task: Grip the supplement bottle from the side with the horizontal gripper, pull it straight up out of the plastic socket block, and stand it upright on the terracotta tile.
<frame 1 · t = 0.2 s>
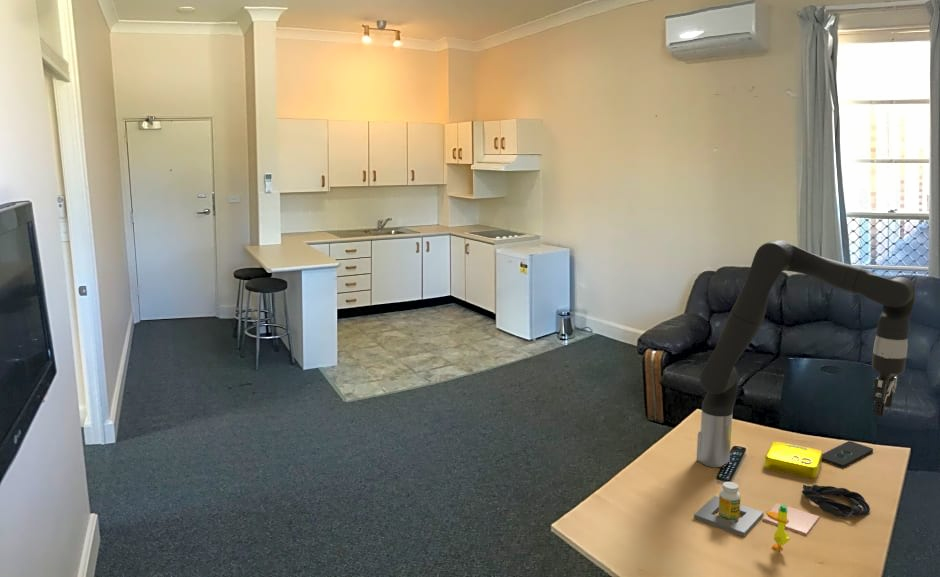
hand: (882, 410, 180), 29 cm above the table, tool pointing down, fingers open, 8 cm apart
toy figure: (776, 548, 168), on the table
terracotta tile: (790, 519, 181), on the table
supplement bottle: (728, 518, 183), resting in socket block
cable: (833, 504, 190), on the table
element tile: (792, 466, 213), on the table
smart home device: (845, 457, 219), on the table
socket block: (728, 517, 183), on the table
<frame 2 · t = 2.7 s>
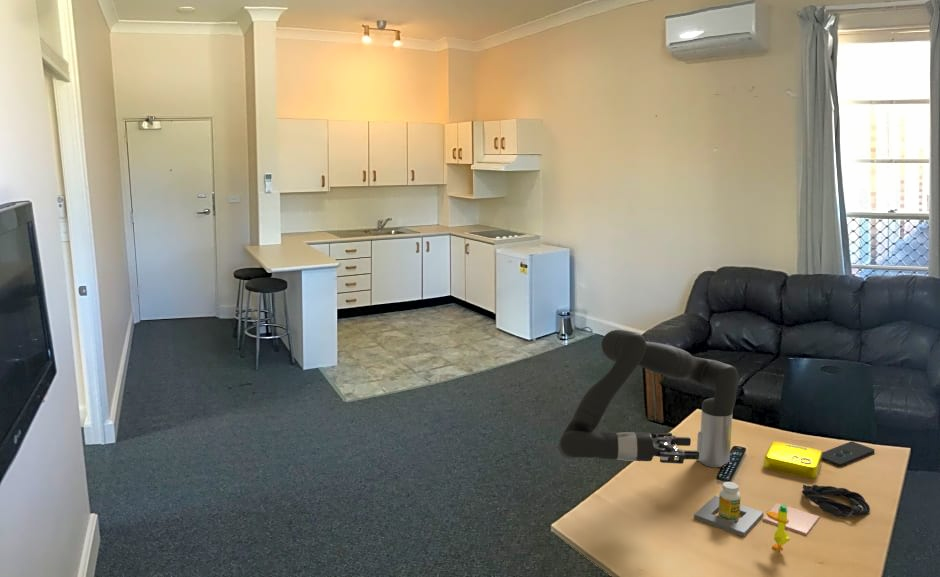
hand: (694, 448, 179), 20 cm above the table, tool horizontal, fingers open, 8 cm apart
nothing on the table moved.
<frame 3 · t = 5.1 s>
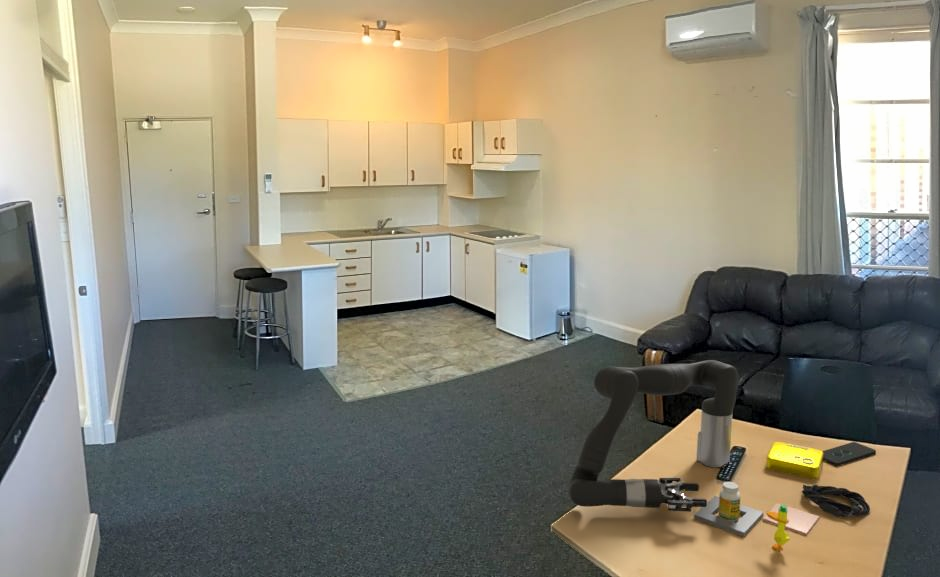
hand: (702, 494, 182), 6 cm above the table, tool horizontal, fingers open, 8 cm apart
nothing on the table moved.
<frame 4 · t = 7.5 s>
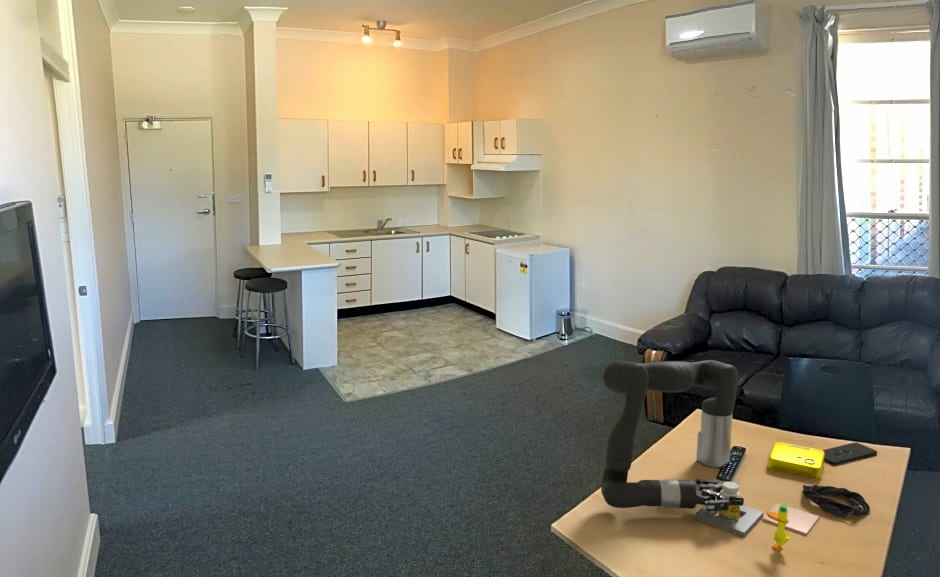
hand: (739, 495, 181), 7 cm above the table, tool horizontal, fingers closed on supplement bottle, 5 cm apart
supplement bottle: (728, 517, 183), resting in socket block, touching gripper
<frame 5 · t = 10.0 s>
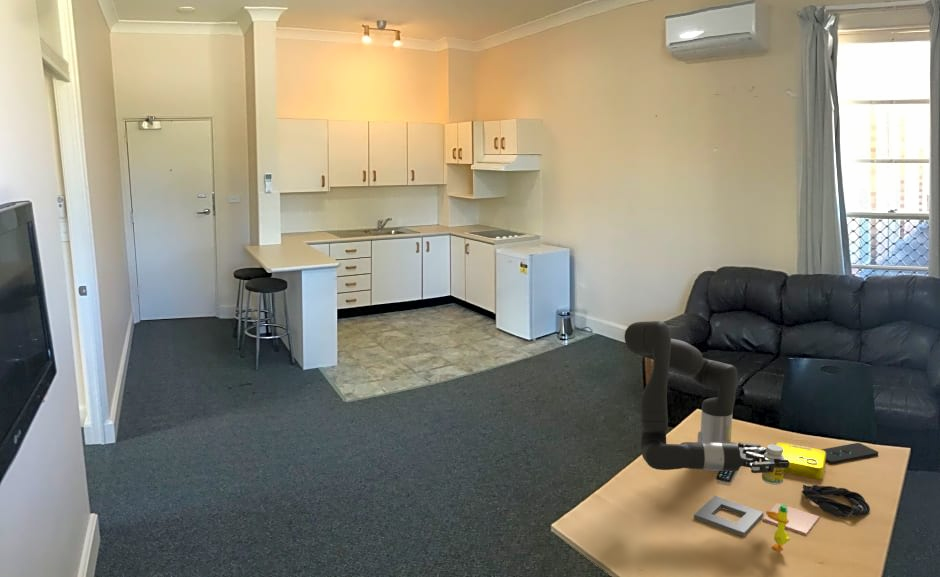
hand: (784, 458, 178), 18 cm above the table, tool horizontal, fingers closed on supplement bottle, 5 cm apart
supplement bottle: (772, 481, 180), point 11 cm above the table, touching gripper
when the fingers open (8 cm above the table, at t = 12.7 s): supplement bottle drops 1 cm, resting on terracotta tile.
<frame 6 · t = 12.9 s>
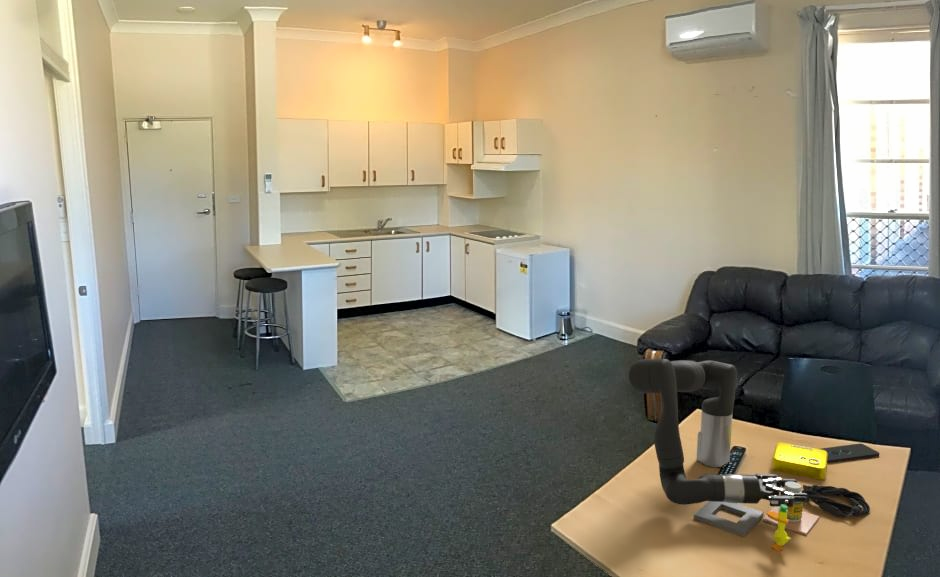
hand: (801, 490, 179), 9 cm above the table, tool horizontal, fingers open, 7 cm apart
supplement bottle: (790, 518, 181), resting on terracotta tile
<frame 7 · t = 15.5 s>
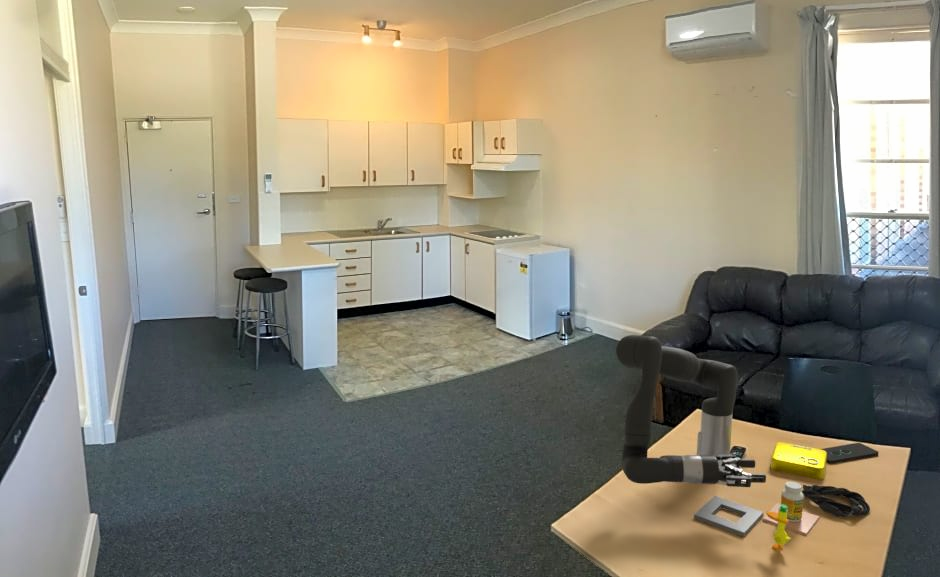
hand: (760, 470, 179), 14 cm above the table, tool horizontal, fingers open, 8 cm apart
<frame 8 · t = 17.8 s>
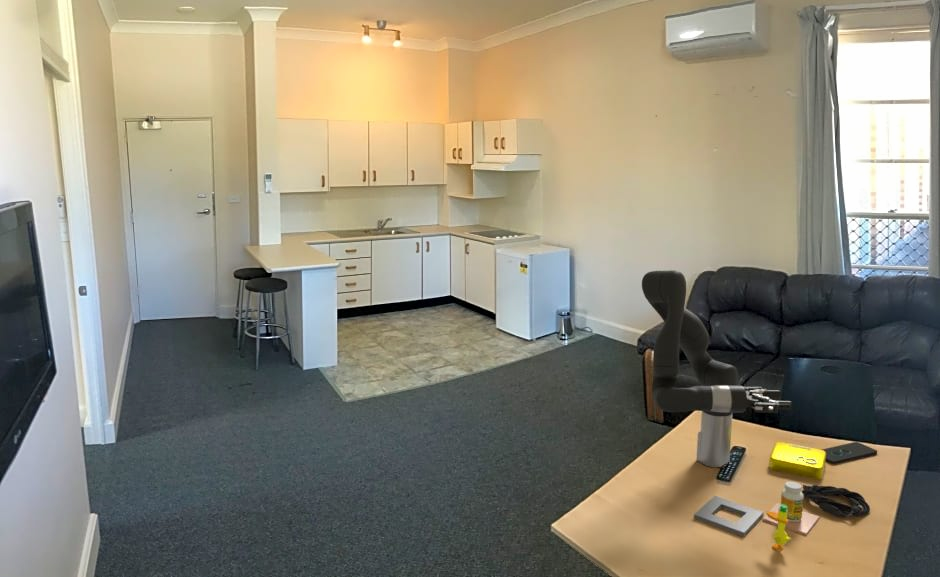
hand: (785, 399, 186), 30 cm above the table, tool horizontal, fingers open, 8 cm apart
at the end: supplement bottle inside the target area on the terracotta tile (0.2 cm from its centre), point 0.4 cm above the terracotta tile's base; supplement bottle tilted 0°; the gripper is holding nothing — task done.
